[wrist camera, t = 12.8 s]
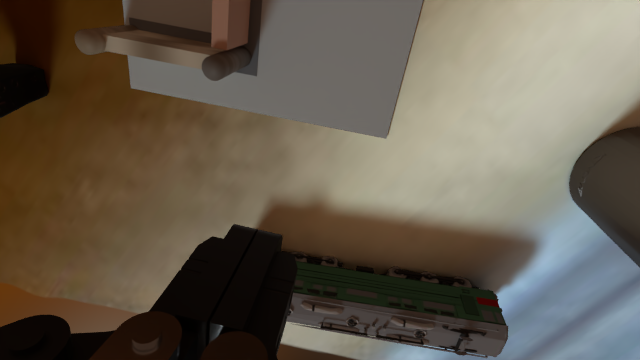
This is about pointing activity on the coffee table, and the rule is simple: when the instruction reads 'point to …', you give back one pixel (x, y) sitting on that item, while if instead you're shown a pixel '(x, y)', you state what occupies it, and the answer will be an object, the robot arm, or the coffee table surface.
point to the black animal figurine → (20, 86)
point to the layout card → (291, 58)
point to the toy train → (397, 307)
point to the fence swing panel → (230, 23)
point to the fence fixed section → (164, 49)
